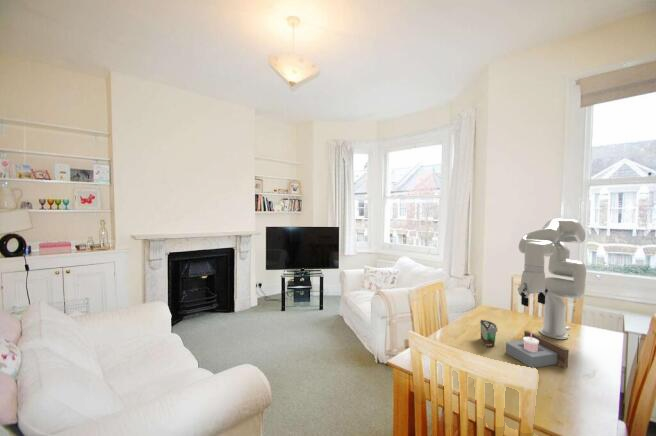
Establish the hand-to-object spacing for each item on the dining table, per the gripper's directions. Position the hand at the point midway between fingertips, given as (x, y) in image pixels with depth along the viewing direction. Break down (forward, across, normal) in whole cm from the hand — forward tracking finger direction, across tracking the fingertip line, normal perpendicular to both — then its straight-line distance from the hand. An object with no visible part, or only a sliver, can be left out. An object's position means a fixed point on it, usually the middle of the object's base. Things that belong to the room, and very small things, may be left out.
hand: (533, 304), depth 137 cm
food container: (+25, +10, -15) cm, 31 cm away
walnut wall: (+25, -6, +2) cm, 26 cm away
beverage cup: (+25, +3, +2) cm, 25 cm away
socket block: (+25, +3, +2) cm, 25 cm away
